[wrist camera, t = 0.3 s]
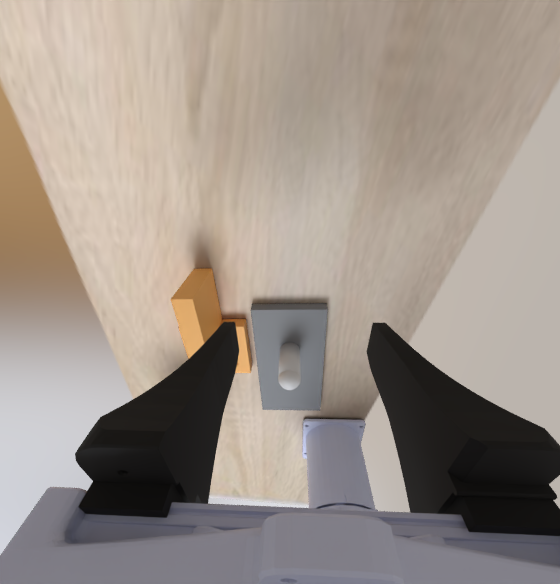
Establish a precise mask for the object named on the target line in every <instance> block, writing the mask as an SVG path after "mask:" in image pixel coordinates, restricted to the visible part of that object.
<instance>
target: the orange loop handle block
mask: <svg viewBox="0 0 560 584" xmlns="http://www.w3.org/2000/svg"><path fill="white" fill-rule="evenodd" d="M171 302H172V305H173V309H174V312H175V315H176V318H177V321H178V324H179V327H178V328H179V331H180V334H181V337H182V340H183V343H184V346H185V349H186V353H187V356H188V359H189V358H190V357H191V356H192V355H193V354H194V353H195V352H196V351H197V350H198V349H199V348H200V347H201V346H202V345H203V344H204V343H205V342H206V341H207V340H208V339H209V338H210V337H211V335H212V334H213V333H214V332H215V331H216V330H217V329H218V328H219V326H220V325H221V324H222V323H223V322H235V325H236V331H237V338H238V345H239V356H238V362H237V367H236V371H235V373H251V368H252V360H251V352H250V345H249V338H248V330H247V323H246V319H222V316H221V311H220V306H219V301H218V296H217V291H216V286H215V281H214V276H213V271H212V268H205V269H194V270H193V271H192V272H191V274H190V275H189V276H188V277H187V279H186V280H185V281H184V283H183V284H182V285H181V287H180V288H179V289H178V290H177V292H176V293H175V294H174V296H173V297H172V298H171Z"/></svg>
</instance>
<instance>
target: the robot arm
mask: <svg viewBox="0 0 560 584" xmlns="http://www.w3.org/2000/svg"><path fill="white" fill-rule="evenodd" d="M367 355H368V360H369V364H370V368H371V372H372V374H373V377H374V380H375V382H376V385H377V388H378V390H379V393H380V396H381V398H382V401H383V403H384V406H385V409H386V412H387V415H388V418H389V421H390V425H391V428H392V432H393V436H394V440H395V444H396V448H397V452H398V456H399V460H400V465H401V469H402V473H403V478H404V482H405V487H406V492H407V497H408V502H409V507H410V512H411V513H408V512H385V511H378V510H375V505H374V501H373V496H372V492H371V488H370V484H369V479H368V474H367V470H366V465H365V461H364V457H363V452H362V448H361V441H362V436H363V432H364V428H365V421H364V420H345V419H304V420H303V458H305V459H307V475H308V497H309V508H293V507H270V506H247V505H245V506H244V505H224V504H208V499H209V492H210V485H211V478H212V472H213V466H214V460H215V454H216V448H217V443H218V437H219V432H220V427H221V421H222V416H223V412H224V408H225V405H226V401H227V398H228V395H229V391H230V388H231V385H232V381H233V378H234V374H235V371H236V367H237V362H238V356H239V345H238V338H237V331H236V325H235V322H223V323H222V324H221V325H220V326H219V328H218V329H217V330H216V331H215V332H214V333H213V334H212V335H211V337H210V338H209V339H208V340H207V341H206V342H205V343H204V344H203V345H202V346H201V347H200V348H199V349H198V350H197V351H196V352H195V353H194V354H193V355H192V356H191V357H190V358H189V359H188V360H187V361H186V362H185V363H184V364H183V365H182V366H180V367H179V368H178V369H177V370H176V371H174V372H173V373H172V374H171V375H169V376H168V377H166V378H165V379H164V380H162V381H161V382H159V383H158V384H157V385H155V386H154V387H152V388H151V389H149V390H148V391H146V392H145V393H143V394H142V395H140V396H138V397H137V398H135V399H133V400H132V401H130V402H128V403H126V404H125V405H123V406H121V407H119V408H117V409H115V410H113V411H112V412H110V413H108V414H106V415H104V416H102V417H100V419H99V420H98V421H97V423H96V424H95V425H94V427H93V428H92V430H91V431H90V432H89V434H88V435H87V437H86V438H85V440H84V441H83V443H82V444H81V446H80V447H79V448H78V450H77V452H76V453H75V456H76V461H77V463H78V464H79V466H80V467H81V468H82V469H83V470H84V471H85V473H86V474H87V475H88V476H89V477H90V478H91V479H92V480H93V483H92V484H91V486H90V488H89V489H88V491H86V490H83V489H80V488H64V487H50V488H48V489H47V490H46V492H45V493H44V494H43V496H42V497H41V498H40V500H39V501H38V503H37V504H36V506H35V507H34V508H33V510H32V511H31V513H30V514H29V515H28V517H27V518H26V520H25V521H24V523H23V524H22V525H21V527H20V528H19V530H18V531H17V532H16V534H15V535H14V537H13V538H12V540H11V541H10V542H9V544H8V546H7V547H6V548H5V550H4V551H3V553H2V554H1V555H0V584H560V509H559V508H558V506H557V505H556V503H555V502H554V501H553V500H555V499H556V498H557V495H556V494H555V492H554V491H553V490H552V488H551V487H550V486H549V483H551V482H552V481H553V480H554V479H555V478H557V477H558V476H559V475H560V445H559V444H558V443H557V442H556V441H555V440H554V439H553V437H552V436H551V435H550V434H549V433H548V432H547V431H546V430H545V429H544V428H542V427H540V426H538V425H536V424H534V423H532V422H529V421H527V420H525V419H523V418H521V417H519V416H517V415H514V414H513V413H510V412H509V411H507V410H505V409H503V408H501V407H499V406H497V405H495V404H493V403H491V402H490V401H488V400H486V399H484V398H483V397H481V396H479V395H477V394H476V393H474V392H472V391H471V390H469V389H467V388H466V387H464V386H463V385H461V384H459V383H458V382H456V381H455V380H453V379H452V378H450V377H449V376H448V375H446V374H445V373H443V372H442V371H440V370H439V369H438V368H436V367H435V366H434V365H432V364H431V363H430V362H429V361H427V360H426V359H425V358H423V357H422V356H421V355H420V354H419V353H418V352H416V351H415V350H414V349H413V348H412V347H411V346H410V345H408V344H407V343H406V342H405V341H404V340H403V339H402V338H401V337H400V336H399V335H398V334H397V333H395V332H394V331H393V330H392V329H391V328H390V327H389V326H388V325H387V324H386V323H373V325H372V329H371V334H370V339H369V344H368V348H367Z"/></svg>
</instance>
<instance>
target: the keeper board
mask: <svg viewBox="0 0 560 584" xmlns="http://www.w3.org/2000/svg"><path fill="white" fill-rule="evenodd" d="M327 311H328V309H327V304H326V303H304V304H252V307H251V317H252V325H253V333H254V341H255V349H256V358H257V366H258V374H259V382H260V391H261V399H262V407H263V410H319V411H320V405H321V392H322V378H323V365H324V351H325V338H326V325H327Z"/></svg>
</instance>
